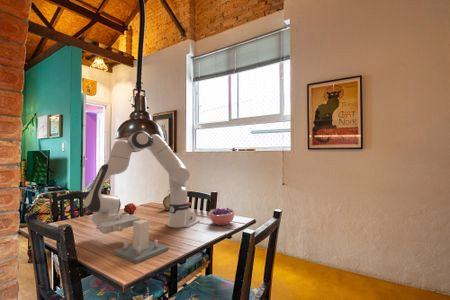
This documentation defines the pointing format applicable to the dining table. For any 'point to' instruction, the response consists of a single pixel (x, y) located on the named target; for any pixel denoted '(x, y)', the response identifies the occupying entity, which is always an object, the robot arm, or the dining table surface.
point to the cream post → (141, 234)
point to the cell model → (221, 216)
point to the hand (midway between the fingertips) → (129, 227)
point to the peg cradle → (139, 255)
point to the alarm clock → (166, 202)
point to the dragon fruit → (130, 208)
